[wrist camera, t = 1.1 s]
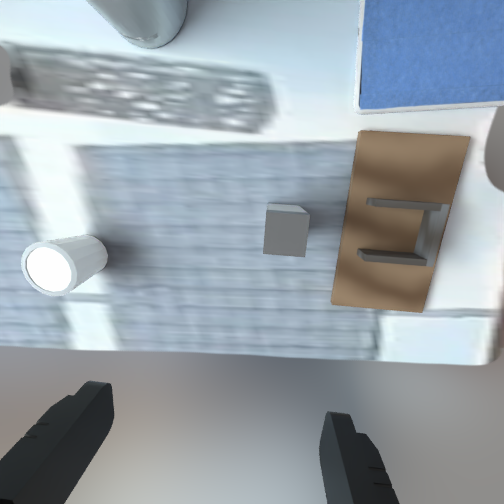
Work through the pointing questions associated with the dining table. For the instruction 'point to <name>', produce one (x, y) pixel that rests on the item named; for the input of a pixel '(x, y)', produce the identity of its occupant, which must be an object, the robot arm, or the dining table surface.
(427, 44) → the tablet computer
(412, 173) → the holder
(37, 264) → the white cup
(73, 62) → the dining table surface
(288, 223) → the plug
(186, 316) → the dining table surface
